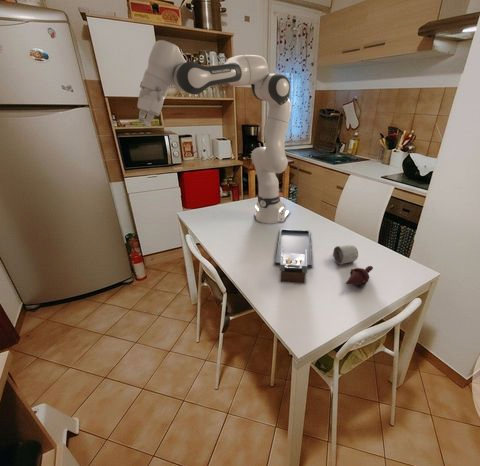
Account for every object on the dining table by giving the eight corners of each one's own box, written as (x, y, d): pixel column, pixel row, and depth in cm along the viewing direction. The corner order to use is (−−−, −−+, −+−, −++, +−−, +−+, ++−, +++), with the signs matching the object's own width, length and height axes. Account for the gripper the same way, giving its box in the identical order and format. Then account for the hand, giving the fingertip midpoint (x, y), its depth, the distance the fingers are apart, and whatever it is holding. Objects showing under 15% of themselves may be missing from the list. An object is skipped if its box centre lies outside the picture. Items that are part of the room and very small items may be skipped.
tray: (311, 268, 109) (311, 264, 108) (275, 265, 110) (275, 262, 109) (309, 233, 136) (309, 230, 135) (280, 231, 137) (280, 228, 137)
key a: (291, 268, 98) (291, 267, 98) (285, 268, 99) (285, 267, 98) (291, 259, 104) (292, 258, 104) (285, 259, 104) (285, 258, 104)
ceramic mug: (358, 264, 111) (360, 248, 108) (341, 267, 109) (343, 251, 105) (343, 252, 120) (346, 237, 117) (328, 255, 118) (330, 240, 114)
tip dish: (306, 277, 95) (307, 270, 93) (279, 275, 95) (279, 268, 94) (306, 255, 108) (306, 248, 106) (281, 254, 109) (282, 246, 107)
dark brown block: (304, 283, 100) (305, 273, 97) (280, 281, 100) (281, 271, 98) (304, 269, 108) (305, 259, 105) (282, 268, 108) (282, 258, 106)
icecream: (358, 284, 90) (381, 271, 98) (342, 269, 94) (366, 258, 103) (350, 297, 94) (373, 283, 102) (335, 282, 98) (358, 271, 107)
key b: (301, 268, 99) (301, 266, 99) (295, 267, 99) (295, 266, 99) (301, 258, 105) (301, 257, 104) (295, 258, 105) (295, 257, 105)
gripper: (172, 93, 92) (159, 131, 95) (156, 91, 106) (145, 124, 109) (153, 83, 87) (141, 123, 90) (139, 82, 102) (129, 117, 105)
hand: (143, 124), depth 100 cm, fingers open, 8 cm apart
